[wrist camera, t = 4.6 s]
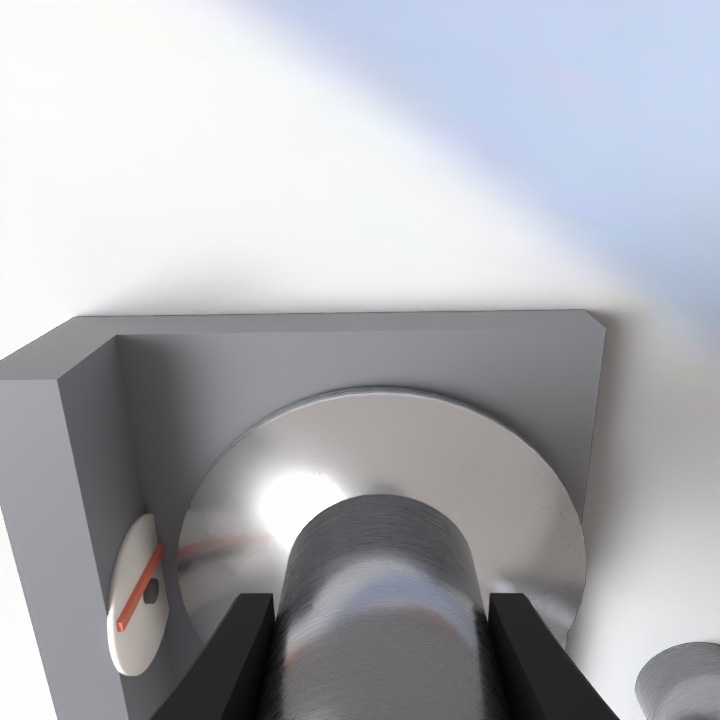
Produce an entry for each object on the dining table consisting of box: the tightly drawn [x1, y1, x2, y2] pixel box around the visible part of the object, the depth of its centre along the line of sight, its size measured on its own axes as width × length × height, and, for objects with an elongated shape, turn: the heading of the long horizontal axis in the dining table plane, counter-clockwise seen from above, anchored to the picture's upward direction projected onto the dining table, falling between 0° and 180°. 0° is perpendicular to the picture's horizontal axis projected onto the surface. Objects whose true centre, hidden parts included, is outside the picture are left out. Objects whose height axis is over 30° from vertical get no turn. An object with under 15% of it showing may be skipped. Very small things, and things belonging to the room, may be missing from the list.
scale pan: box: [177, 387, 587, 644], centre depth 18 cm, size 12×12×1 cm
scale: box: [0, 310, 606, 720], centre depth 18 cm, size 15×15×5 cm
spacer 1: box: [255, 494, 511, 720], centre depth 10 cm, size 4×4×5 cm
